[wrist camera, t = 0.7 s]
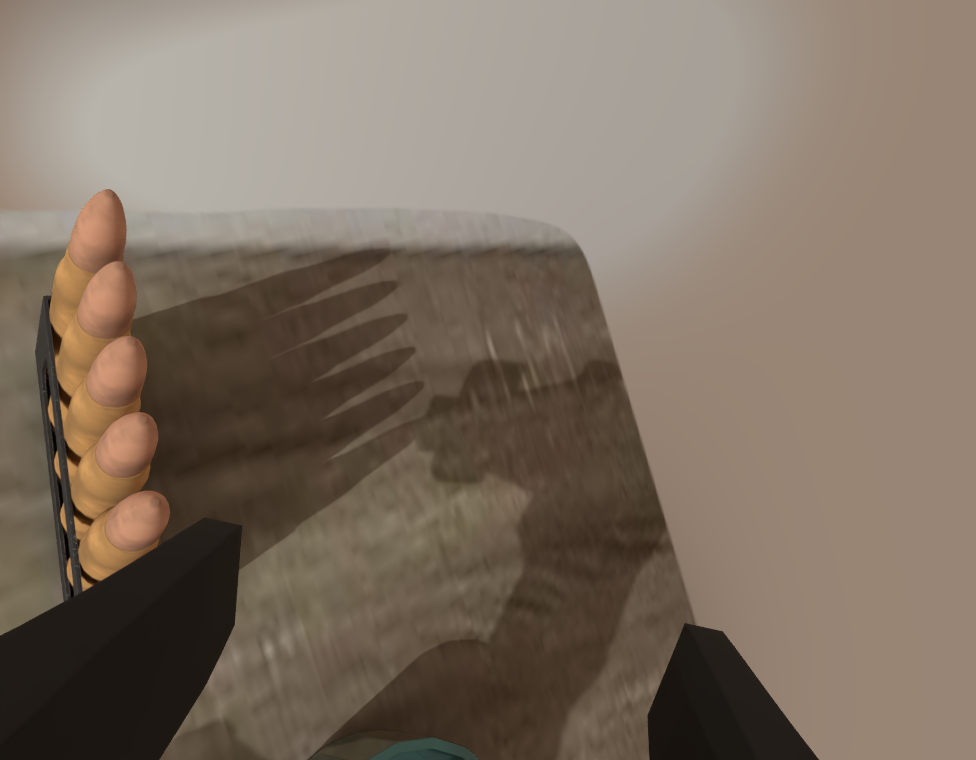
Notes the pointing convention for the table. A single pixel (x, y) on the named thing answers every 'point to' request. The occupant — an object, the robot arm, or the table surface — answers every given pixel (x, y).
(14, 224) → the table surface
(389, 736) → the pen cup
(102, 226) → the ammunition clip
